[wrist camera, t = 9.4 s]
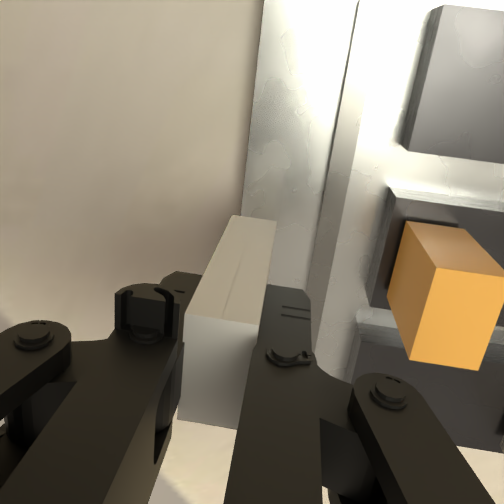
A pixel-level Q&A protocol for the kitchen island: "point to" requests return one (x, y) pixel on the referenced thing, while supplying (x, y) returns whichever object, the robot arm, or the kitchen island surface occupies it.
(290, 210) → the panel
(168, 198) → the kitchen island surface
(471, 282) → the block
